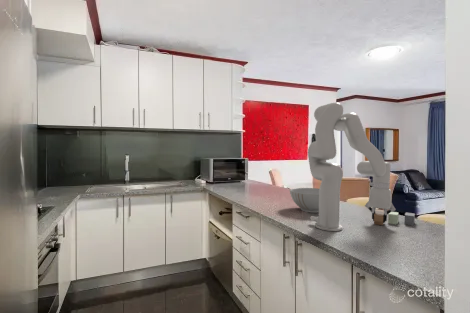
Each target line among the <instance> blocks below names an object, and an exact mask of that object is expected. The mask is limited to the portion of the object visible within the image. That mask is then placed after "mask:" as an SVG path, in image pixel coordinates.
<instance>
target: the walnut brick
mask: <svg viewBox="0 0 470 313" xmlns="http://www.w3.org/2000/svg"><path fill="white" fill-rule="evenodd" d="M383 216H384V209H379V208H376V209H375V214H374V221H373V224H374V225H379V226H384V223H383Z"/></svg>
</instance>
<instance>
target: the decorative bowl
mask: <svg viewBox="0 0 470 313" xmlns="http://www.w3.org/2000/svg"><path fill="white" fill-rule="evenodd" d="M319 189H320V188H316V187H295V188H290V189H289V194H290V197H291V200H292V201H293V203H295V205H296V206H297V207H299V208H300V210H301V211H303V212H306V213H314V214H315V213H319Z"/></svg>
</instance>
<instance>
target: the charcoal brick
mask: <svg viewBox="0 0 470 313" xmlns="http://www.w3.org/2000/svg"><path fill="white" fill-rule="evenodd" d="M415 215H416V214H415V213H412V212H405V213H404V223H403V224H404V225H405V224H408V225H407V226H412V225H413V226H415V222H416V221H415V220H416V218H415V217H416V216H415Z"/></svg>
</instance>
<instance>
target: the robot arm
mask: <svg viewBox="0 0 470 313" xmlns="http://www.w3.org/2000/svg"><path fill="white" fill-rule="evenodd" d="M313 116H314V119H315V120H316V124H315V127H314V133H315V134H314V135H315V141H313V142H311V143H310V144H309V146H308V148H307V158H308V164H309V171H310V174H311V176H312V177H313V178H314V179H315V180H318V181H321V183H320V185H319V188H318V189H319V212H318V216H314V215H311V216H310V221H313V222H315V223H314V227H315V228H317V229H318V230H323V231H328V232H339V231H342V230H343V225H341V223H340V211H341V210H340V207H341V206H340V204H341V184H342V179H343V176H344V175H343V169H342V167H341V166H340V165H339V164H337V163H336V162H335V163H334V162H329V161H330V160H333V159H335V158H336V156H337V144H336V138H335V131H337V132H343V131H344V134H345V136H346V139H347V141H348V144H349V146H350V147H351V148H352V149H353V150H355V151H357V152H359V153H361V154H362V155H363V156H364V157H365V158H366V160H362V161H360V162H359V163H358V164H357V166H356V170H357V172H358V173H359V174H360V175H362V176H366V177H372V182H369V186H371V187H370V190H369V194H368V201H367V202H366V203H365V205H364V207H365V208H366V209H368V210H369V212H371V220H372V222H374V214H375V211H376V209H378V210H384V216H383V224H385V223H386V222H388V214H389V213H390V212H396V208H395V206H394V204H393V202H392V199H393V198H392V190H391V189H390V183H391V182H390V180H391V163H390V162H388V161H385V159H384V157H383V154H382V152H381V151H380V150H379V149H378V148H377V147H376V146H375V145H374V144H373V143H372V142H371V141H370V140H369V139H368V136H367V134H366V131H365V129H364V126H363V124H362V122H361V118H360V116H359V115H358V114H357V113H355V112H347V113H344V107H343V105H342V104H341V103H340V102H331V103H327V104H324V105H320V106H318V107H317V108H316V109H315V110H314V113H313ZM327 161H328V162H327Z"/></svg>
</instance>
